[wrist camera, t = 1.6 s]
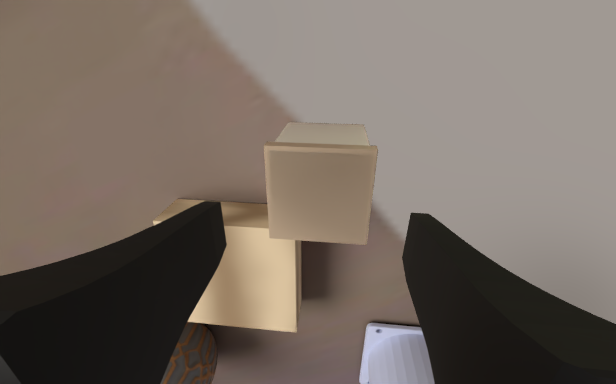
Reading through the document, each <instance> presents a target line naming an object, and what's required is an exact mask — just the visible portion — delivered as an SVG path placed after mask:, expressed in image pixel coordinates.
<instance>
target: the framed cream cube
mask: <svg viewBox="0 0 616 384" xmlns="http://www.w3.org/2000/svg"><path fill="white" fill-rule="evenodd" d="M377 153H378V149H377V146H370V144H369V141H368V137H367V134H366V130H365V127H364V125H362V124H361V125H360V124H329V123H300V122H299V123H296V122H289V123H288V124H287V126H286V127H285V128H284V130H283V131H282V132H281V134H280V135H279V136H278V138H277V139H276V141H275V142H266V143H265V145H264V157H265V173H266V189H267V206H268V222H269V238H273V239H287V240H302V241H316V242H331V243H345V244H360V245H367V237H368V229H369V220H370V212H371V204H372V195H373V187H374V179H375V170H376V161H377Z"/></svg>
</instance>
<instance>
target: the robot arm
mask: <svg viewBox="0 0 616 384" xmlns="http://www.w3.org/2000/svg"><path fill="white" fill-rule="evenodd" d="M226 246H227V243H226V236H225V229H224V222H223V215H222V208H221V202H216V201H204V202H201V203H199V204H197V205H194V206H192V207H190V208H188V209H186V210H184V211H182V212H180V213H178V214H176V215H174V216H172V217H170V218H168V219H166V220H164V221H162V222H160V223H158V224H156V225H154V226H152V227H150V228H147V229H145V230H143V231H141V232H139V233H137V234H134V235H132V236H130V237H127V238H125V239H123V240H120V241H118V242H115V243H112V244H110V245H107V246H104V247H102V248H99V249H96V250H93V251H90V252H87V253H84V254H81V255H78V256H74V257H71V258H68V259H65V260H62V261H58V262H55V263H51V264H48V265H44V266H40V267H36V268H33V269H28V270H24V271H20V272H16V273H12V274H7V275H3V276H0V384H160V383H161V381H162V379H163V376H164V374H165V371H166V369H167V366H168V364H169V362H170V359H171V357H172V354H173V352H174V350H175V347H176V345H177V343H178V341H179V338H180V336H181V334H182V332H183V329H184V327H185V325H186V323H187V321H188V320H189V318H190V316H191V314H192V312H193V310H194V309H195V307H196V305H197V304H198V302H199V300H200V298H201V297H202V295H203V293H204V291H205V290H206V288H207V286H208V284H209V283H210V281H211V279H212V277H213V275H214V274H215V272H216V270H217V268H218V266H219V264H220V261H221V259H222V257H223V254H224V251H225V248H226ZM402 258H403V265H404V271H405V277H406V282H407V285H408V288H409V292H410V295H411V298H412V301H413V304H414V307H415V311H416V314H417V317H418V320H419V323H420V326H421V327H412V326H402V325H391V324H380V323H369V324H368V325H367V327H366V334H365V341H364V348H363V355H362V362H361V369H360V376H359V381H360V383H361V384H616V324H614V323H612V322H609V321H607V320H605V319H602V318H600V317H597V316H595V315H593V314H591V313H589V312H587V311H584V310H582V309H580V308H578V307H576V306H573V305H571V304H569V303H567V302H565V301H563V300H561V299H559V298H557V297H555V296H553V295H551V294H549V293H547V292H545V291H543V290H541V289H540V288H538V287H536V286H534V285H532V284H530V283H529V282H527V281H525V280H523V279H521V278H520V277H518V276H516V275H515V274H513V273H511V272H510V271H508V270H506V269H505V268H503V267H501V266H500V265H498V264H497V263H495V262H494V261H492V260H491V259H489V258H488V257H486V256H485V255H483V254H482V253H480V252H479V251H477V250H476V249H475V248H473V247H472V246H471V245H469V244H468V243H466V242H465V241H464V240H462V239H461V238H460V237H458V236H457V235H456V234H455V233H453V232H452V231H451V230H449V229H448V228H447V227H446V226H444V225H443V224H442V223H440V222H439V221H438V220H436V219H435V218H434V217H432V216H431V215H429V214H423V213H422V214H421V213H411V215H410V220H409V225H408V231H407V236H406V241H405V246H404V251H403V257H402Z"/></svg>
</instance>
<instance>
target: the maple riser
mask: <svg viewBox="0 0 616 384" xmlns="http://www.w3.org/2000/svg"><path fill="white" fill-rule="evenodd" d="M204 201H205V200H188V199H177V200H176V201H174V202H173V203H172V204H171V205H170V206H169V207H168V208H167V209H166V210H165V211H163V212H162V213H161V214H160V215H159V216H158V217H157V218H156V219H155V220H153V223H154V225H156V224H158V223H160V222H162V221H164V220H166V219H168V218H170V217H172V216H174V215H176V214H178V213H180V212H182V211H184V210H186V209H188V208H190V207H192V206H194V205H197V204H199V203H201V202H204ZM216 202H221V208H222V215H223V222H224V229H225V236H226V243H227V246H226V248H225V251H224V254H223V257H222V259H221V261H220V264H219V266H218V268H217V270H216V272H215V274H214V275H213V277H212V279H211V281H210V283H209V284H208V286H207V288H206V290H205V291H204V293H203V295H202V297H201V298H200V300H199V302H198V304H197V305H196V307H195V309H194V310H193V312H192V314H191V316H190V318H189V320H188V321H187V322H195V323H205V324H215V325H225V326H235V327H246V328H256V329H266V330H276V331H286V332H297V326H298V320H299V314H300V307H301V301H302V286H301V240H287V239H273V238H269V222H268V206H267V204H256V203H239V202H222V201H216Z"/></svg>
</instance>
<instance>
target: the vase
mask: <svg viewBox="0 0 616 384" xmlns="http://www.w3.org/2000/svg"><path fill="white" fill-rule="evenodd" d="M216 366H217V346H216V342H215V339H214V337H213V335H212V333H211V332H210V330H209V329H208V328H207V327H206V326H205V325H203V324H202V323H195V322H187V323H186V325H185V327H184V329H183V332H182V334H181V336H180V338H179V341H178V343H177V345H176V347H175V350H174V352H173V354H172V357H171V359H170V362H169V364H168V366H167V369H166V371H165V374H164V376H163V379H162V381H161V383H160V384H211V383H212V380H213V378H214V374H215V371H216Z"/></svg>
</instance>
